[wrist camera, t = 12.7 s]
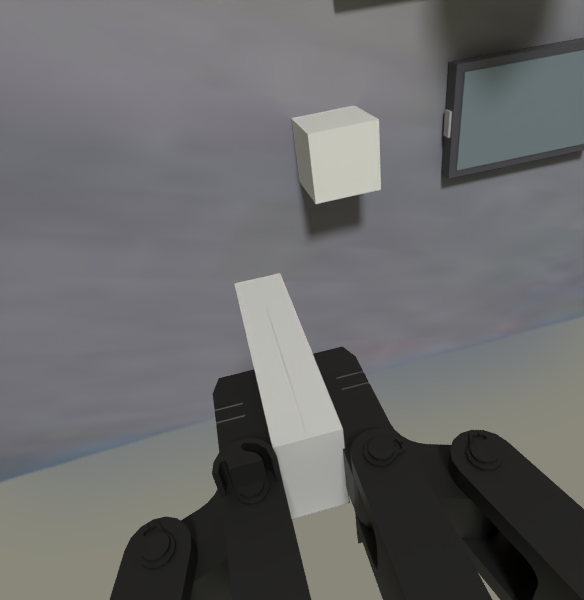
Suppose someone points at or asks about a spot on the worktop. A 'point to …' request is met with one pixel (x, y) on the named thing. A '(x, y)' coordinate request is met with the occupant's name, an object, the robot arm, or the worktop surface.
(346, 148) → the white cube
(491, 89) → the phone
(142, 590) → the robot arm
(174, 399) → the worktop surface
